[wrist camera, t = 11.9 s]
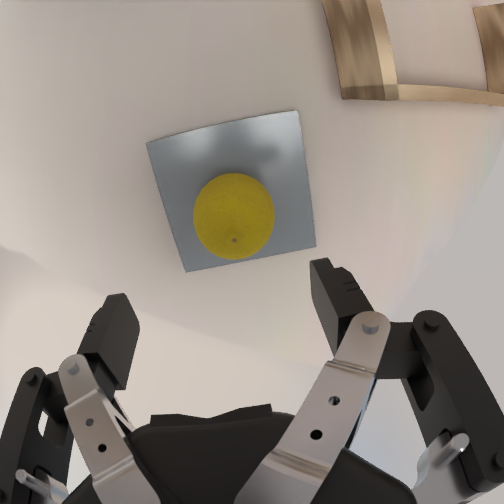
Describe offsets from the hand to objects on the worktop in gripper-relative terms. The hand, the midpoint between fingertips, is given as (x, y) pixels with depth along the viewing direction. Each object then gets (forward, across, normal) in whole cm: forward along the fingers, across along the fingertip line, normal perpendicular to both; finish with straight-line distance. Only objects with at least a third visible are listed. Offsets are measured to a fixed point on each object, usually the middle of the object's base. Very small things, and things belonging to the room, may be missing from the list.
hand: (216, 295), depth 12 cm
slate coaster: (+14, -1, 0) cm, 14 cm away
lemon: (+13, -1, 0) cm, 13 cm away
